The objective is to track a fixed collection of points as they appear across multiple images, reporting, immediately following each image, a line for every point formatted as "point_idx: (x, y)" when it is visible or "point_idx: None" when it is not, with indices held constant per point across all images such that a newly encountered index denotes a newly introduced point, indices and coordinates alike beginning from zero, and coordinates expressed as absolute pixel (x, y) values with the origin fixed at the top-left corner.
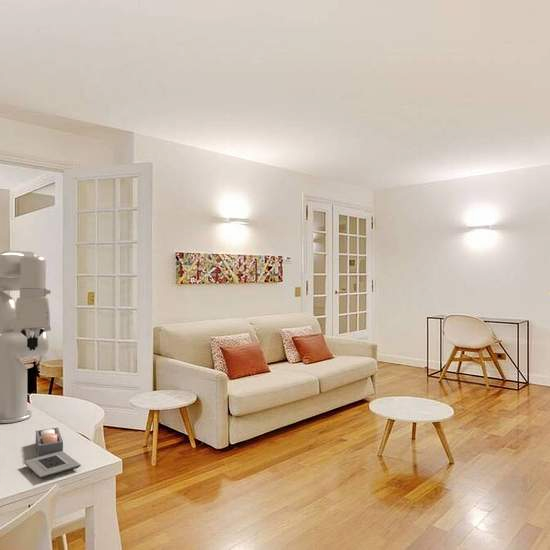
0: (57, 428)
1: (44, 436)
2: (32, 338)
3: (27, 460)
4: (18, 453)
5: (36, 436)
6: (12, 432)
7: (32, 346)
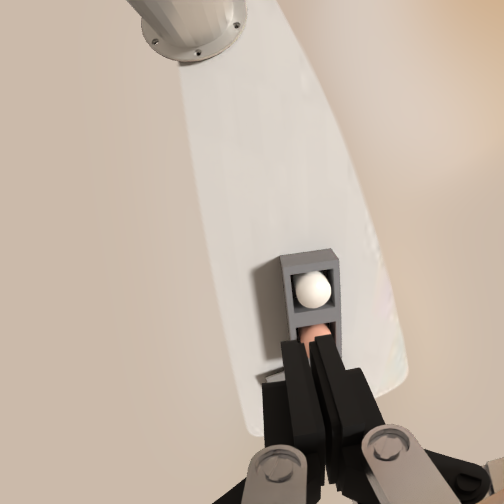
0: (337, 267)
1: (306, 347)
2: (329, 420)
3: (272, 378)
4: (247, 306)
5: (285, 292)
6: (210, 145)
7: (312, 363)
